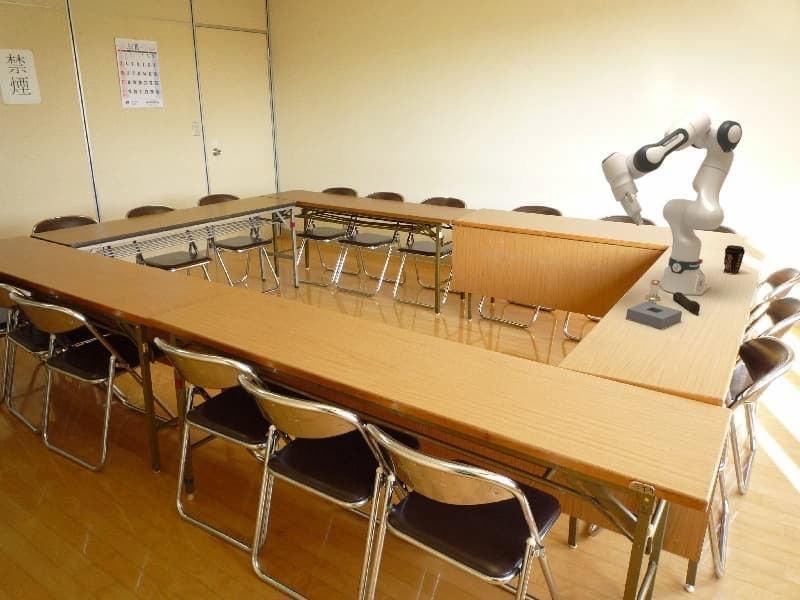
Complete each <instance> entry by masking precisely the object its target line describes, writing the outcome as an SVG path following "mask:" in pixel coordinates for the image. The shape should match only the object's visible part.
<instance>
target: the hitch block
mask: <svg viewBox="0 0 800 600" xmlns="http://www.w3.org/2000/svg"><path fill="white" fill-rule="evenodd" d="M682 313H683V311H682V310H679V309H675V308H672V307H668V306H666V305H665V306H664V305H661V304H657V303H656V304H654V303H650V302H648V301H645V302H642V303H639V304H637V305H634V306H631V307H628V308H627V309H626V316H625V319H626V318H627V319H626V320H629V319H630V320H629V321H632V320H634V321H633V322H635V321H637V322H636V323H638V322H640V323H639V324H642V323H643V324H642V325H645V324H646V325H645V326H648V325H650V326H649V327H651V326H652V327H651V328H654V327H656V328H655V329H658V328H659V329H658V330H663V328H664V329H666V328H668V327H671V326H673V325H675V324H678V323H680V322H681V319H682V315H683V314H682ZM670 325H671V326H670ZM665 327H666V328H665Z"/></svg>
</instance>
